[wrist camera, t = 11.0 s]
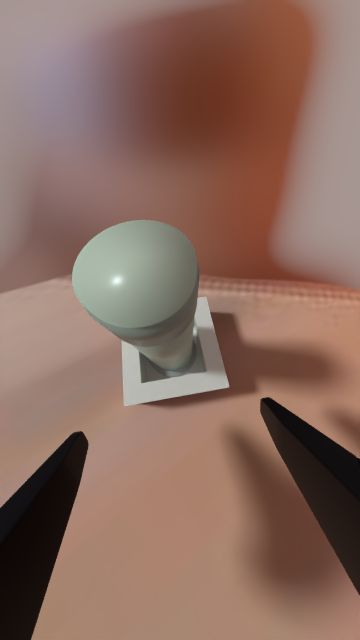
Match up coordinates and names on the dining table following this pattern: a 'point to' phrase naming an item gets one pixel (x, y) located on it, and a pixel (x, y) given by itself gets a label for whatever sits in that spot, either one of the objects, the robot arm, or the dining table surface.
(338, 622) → the dining table surface
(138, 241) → the toggle switch lever
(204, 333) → the housing
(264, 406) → the robot arm
